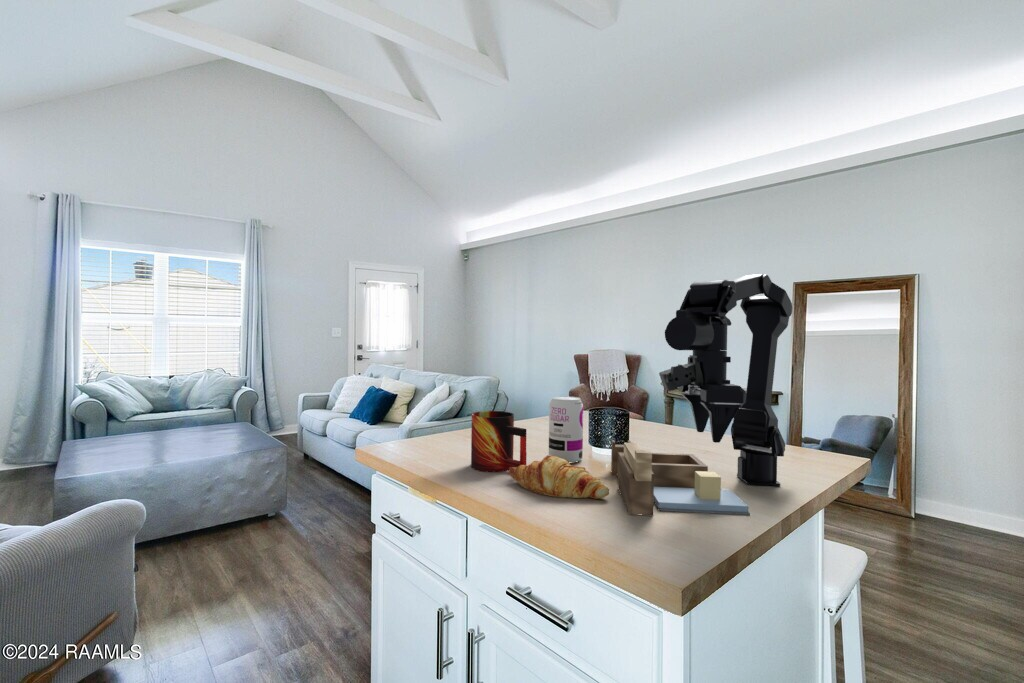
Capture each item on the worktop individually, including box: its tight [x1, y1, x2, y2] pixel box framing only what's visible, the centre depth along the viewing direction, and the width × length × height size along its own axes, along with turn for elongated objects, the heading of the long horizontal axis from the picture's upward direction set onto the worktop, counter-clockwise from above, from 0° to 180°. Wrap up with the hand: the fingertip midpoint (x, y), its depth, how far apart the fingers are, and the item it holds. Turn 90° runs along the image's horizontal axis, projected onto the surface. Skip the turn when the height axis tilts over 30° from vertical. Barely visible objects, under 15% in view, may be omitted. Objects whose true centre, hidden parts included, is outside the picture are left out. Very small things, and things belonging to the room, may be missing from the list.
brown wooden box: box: [610, 439, 709, 516], centre depth 93 cm, size 17×26×7 cm, turn 175°
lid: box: [654, 471, 750, 513], centre depth 87 cm, size 15×9×5 cm, turn 85°
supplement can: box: [548, 395, 584, 462], centre depth 116 cm, size 8×8×15 cm
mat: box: [654, 501, 751, 516], centre depth 87 cm, size 15×10×1 cm, turn 85°
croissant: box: [508, 454, 610, 499], centre depth 93 cm, size 21×10×8 cm, turn 61°
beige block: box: [623, 442, 653, 481], centre depth 86 cm, size 2×15×5 cm, turn 175°
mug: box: [470, 410, 527, 473], centre depth 109 cm, size 10×14×12 cm
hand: (707, 436), depth 87 cm, fingers open, 9 cm apart
